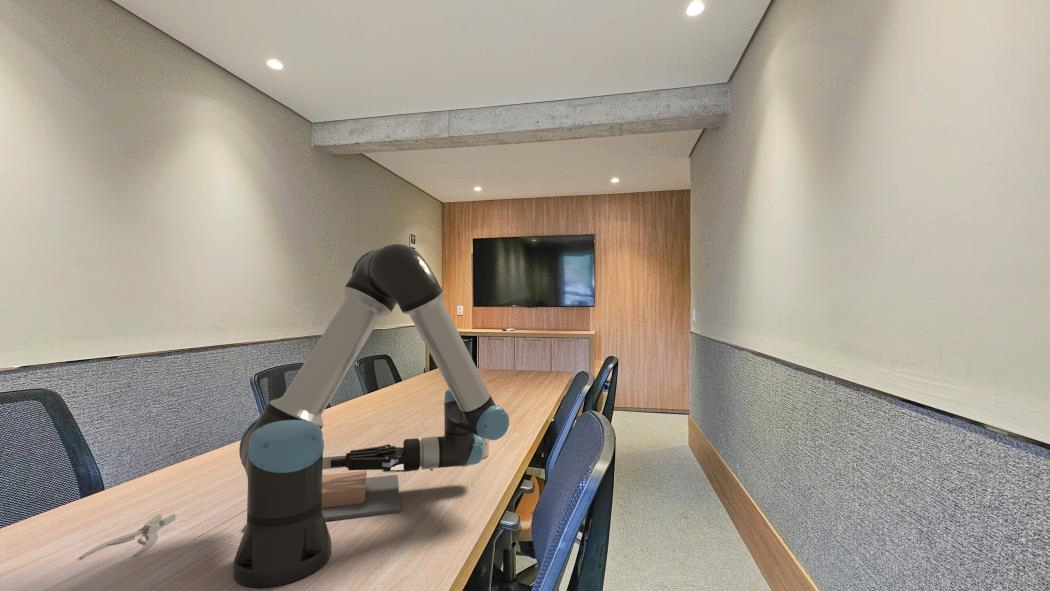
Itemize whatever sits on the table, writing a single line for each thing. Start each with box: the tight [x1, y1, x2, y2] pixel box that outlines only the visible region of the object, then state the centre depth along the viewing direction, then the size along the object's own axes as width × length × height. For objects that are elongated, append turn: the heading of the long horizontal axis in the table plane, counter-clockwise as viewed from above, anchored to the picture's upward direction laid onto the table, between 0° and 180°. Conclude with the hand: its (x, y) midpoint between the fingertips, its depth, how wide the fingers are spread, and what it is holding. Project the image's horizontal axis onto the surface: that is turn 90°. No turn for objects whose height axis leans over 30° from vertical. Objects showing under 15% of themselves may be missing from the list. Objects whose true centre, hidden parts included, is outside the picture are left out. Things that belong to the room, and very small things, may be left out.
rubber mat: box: [244, 474, 401, 529], centre depth 105 cm, size 22×30×1 cm
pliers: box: [79, 513, 176, 560], centre depth 88 cm, size 10×2×15 cm
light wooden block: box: [322, 470, 368, 508], centre depth 105 cm, size 12×3×18 cm
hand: (316, 463), depth 105 cm, fingers closed
